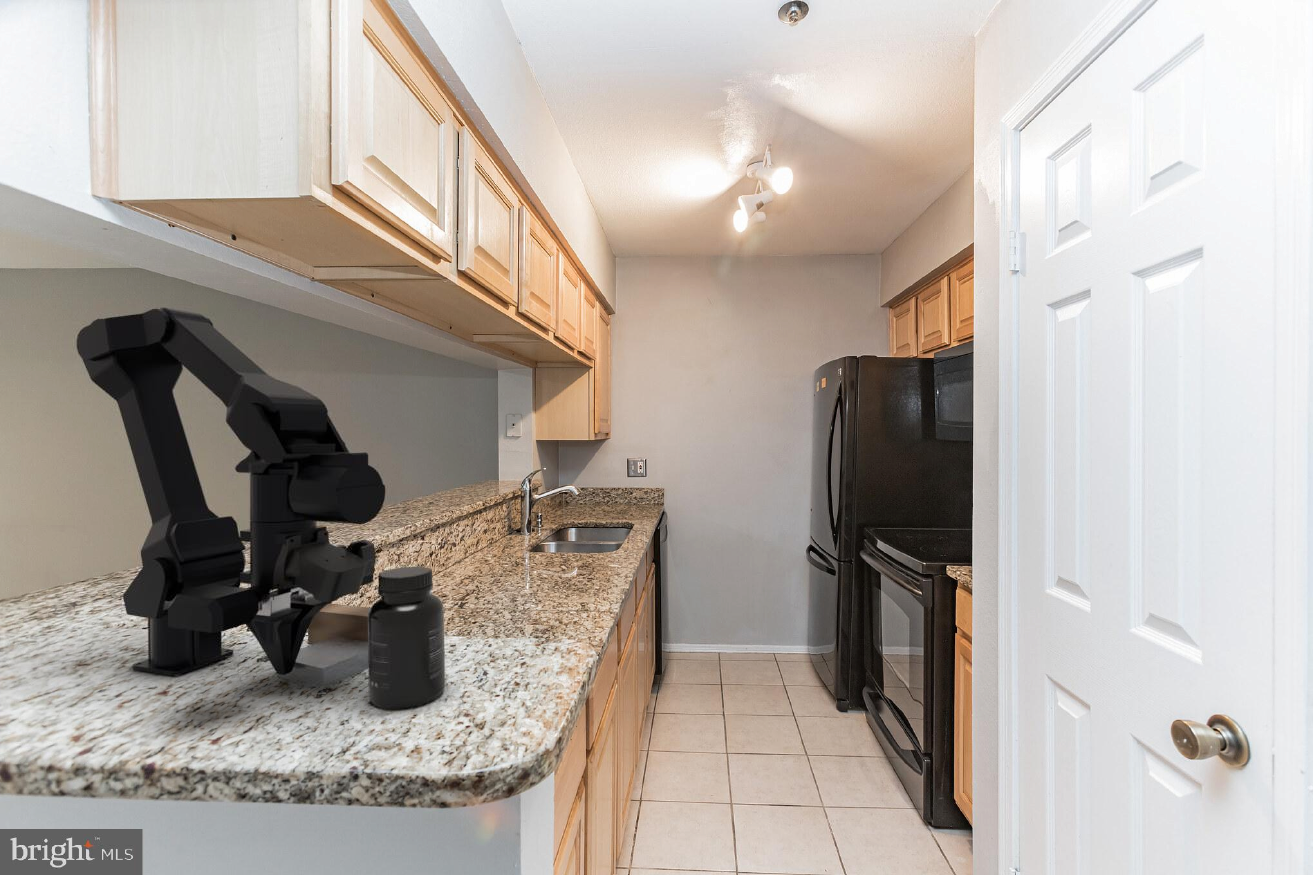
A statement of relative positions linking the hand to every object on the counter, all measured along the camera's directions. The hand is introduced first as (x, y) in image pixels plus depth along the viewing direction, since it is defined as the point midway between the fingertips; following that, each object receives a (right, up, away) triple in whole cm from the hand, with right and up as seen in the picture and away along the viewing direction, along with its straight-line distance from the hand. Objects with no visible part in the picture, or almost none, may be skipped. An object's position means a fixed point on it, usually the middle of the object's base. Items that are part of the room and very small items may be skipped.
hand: (284, 673), depth 61 cm
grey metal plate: (+3, -2, +4) cm, 5 cm away
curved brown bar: (+3, -1, +11) cm, 11 cm away
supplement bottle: (+13, -1, -3) cm, 14 cm away
